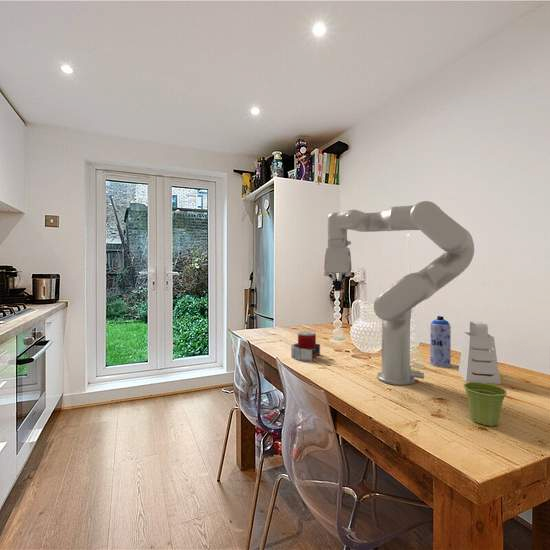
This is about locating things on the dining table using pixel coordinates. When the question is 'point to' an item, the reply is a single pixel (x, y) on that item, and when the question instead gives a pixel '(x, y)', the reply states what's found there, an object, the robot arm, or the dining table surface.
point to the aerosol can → (440, 343)
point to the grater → (478, 355)
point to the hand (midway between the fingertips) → (337, 290)
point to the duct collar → (303, 352)
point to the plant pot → (484, 402)
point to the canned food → (307, 341)
